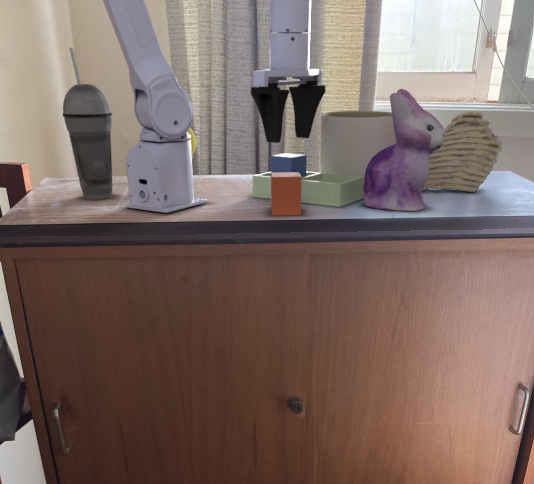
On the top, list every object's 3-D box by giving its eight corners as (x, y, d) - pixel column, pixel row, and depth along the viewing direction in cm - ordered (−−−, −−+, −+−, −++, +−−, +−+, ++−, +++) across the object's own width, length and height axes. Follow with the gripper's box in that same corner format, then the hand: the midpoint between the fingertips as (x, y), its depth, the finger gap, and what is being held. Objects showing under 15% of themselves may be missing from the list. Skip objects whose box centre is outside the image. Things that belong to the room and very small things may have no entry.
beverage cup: (110, 202, 104) (92, 47, 93) (66, 200, 105) (43, 47, 95) (128, 193, 110) (112, 47, 99) (86, 192, 111) (66, 47, 101)
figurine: (438, 212, 97) (453, 90, 89) (366, 212, 97) (375, 91, 89) (425, 199, 105) (438, 87, 97) (359, 199, 105) (366, 87, 97)
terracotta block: (300, 215, 95) (301, 176, 93) (272, 215, 95) (272, 177, 93) (298, 209, 99) (299, 172, 96) (270, 209, 99) (270, 172, 96)
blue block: (291, 193, 105) (291, 157, 103) (270, 190, 107) (270, 155, 105) (306, 189, 108) (306, 154, 105) (285, 186, 110) (285, 152, 107)
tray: (364, 198, 106) (365, 176, 104) (339, 207, 100) (340, 184, 98) (280, 189, 113) (280, 168, 111) (252, 196, 107) (252, 175, 106)
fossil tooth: (403, 194, 115) (494, 185, 114) (410, 199, 109) (505, 189, 108) (403, 118, 109) (498, 107, 108) (410, 119, 104) (510, 108, 103)
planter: (329, 196, 107) (333, 118, 101) (310, 183, 118) (312, 111, 112) (404, 192, 109) (412, 116, 103) (379, 180, 120) (384, 110, 114)
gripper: (296, 34, 104) (294, 134, 111) (235, 33, 94) (237, 142, 101) (335, 34, 100) (331, 136, 107) (276, 32, 90) (275, 145, 97)
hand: (288, 139), depth 104 cm, fingers open, 7 cm apart
